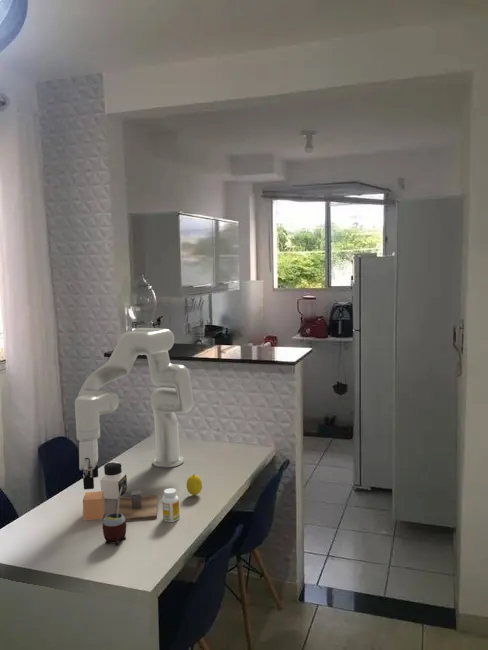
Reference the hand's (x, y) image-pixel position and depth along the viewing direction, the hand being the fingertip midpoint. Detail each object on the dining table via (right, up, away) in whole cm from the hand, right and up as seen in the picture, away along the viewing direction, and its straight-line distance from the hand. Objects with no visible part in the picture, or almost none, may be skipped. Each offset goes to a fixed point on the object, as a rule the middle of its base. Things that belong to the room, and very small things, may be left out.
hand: (91, 482), depth 188 cm
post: (+14, -11, +6) cm, 19 cm away
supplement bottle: (+27, -11, -2) cm, 29 cm away
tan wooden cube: (+1, -12, +2) cm, 12 cm away
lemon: (+33, -9, +15) cm, 38 cm away
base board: (+14, -11, +6) cm, 19 cm away
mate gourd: (+12, -14, -15) cm, 23 cm away
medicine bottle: (+4, -10, +17) cm, 20 cm away
